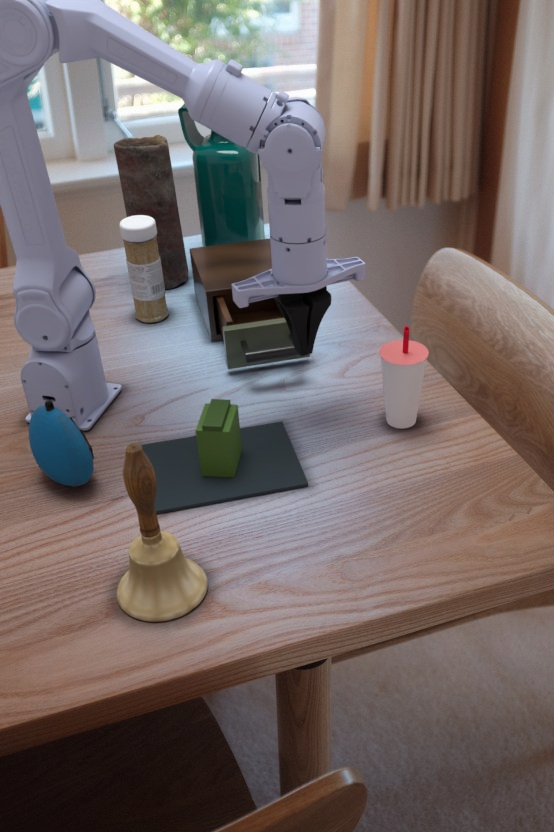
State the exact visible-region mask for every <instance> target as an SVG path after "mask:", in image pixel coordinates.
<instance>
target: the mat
mask: <svg viewBox="0 0 554 832" xmlns="http://www.w3.org/2000/svg"><path fill="white" fill-rule="evenodd" d="M240 433H241V443H242V452H241V456H240V459H239V463H238V466H237V469H236V473H235V476H234V478H231V477H209V476H202V474H201V467H200V460H199V453H198V445H197V438H196V435H193V436H187V437H181V438H175V439H169V440H163V441H157V442H150V443H145V444H140V445H141V446H142V449H143V451H144V453H145V454H146V456H147V457H148V459H149V461H150V462H151V464H152V466H153V469H154V472H155V477H156V485H157V491H156V499H155V511H156V515H159V514H166V513H170V512H177V511H180V510H181V511H182V510H187V509H191V508H198V507H203V506H209V505H213V504H219V503H225V502H230V501H231V502H232V501H235V500H241V499H246V498H252V497H257V496H262V495H268V494H275V493H280V492H284V491H290V490H295V489H301V488H307V487H309V482H308V479H307V477H306V474H305V472H304V469H303V466H302V465H301V463H300V460H299V458H298V455H297V453H296V451H295V448H294V446H293V444H292V441H291V439H290V436H289V433H288V431H287V429H286V427H285V424H284V422H283V421H276V422H271V423H264V424H258V425H252V426H245V427H240Z"/></svg>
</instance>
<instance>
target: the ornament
mask: <svg viewBox="0 0 554 832" xmlns="http://www.w3.org/2000/svg"><path fill="white" fill-rule="evenodd" d="M28 439H29V446H30V450H31V453H32V456H33V458H34V461H35V462H36V464H37V465H38V467H39V468H40V470H41V471H42V472H43V473H44V474H45V475H46V476H48V477H49V478H50V479H51V480H53V481H54V482H55V483H57V484H60V485H63V486H68V487H80V486H83V485H86V484H87V483H89V481H91V478H92V476H93V474H94V470H95V468H94V460H95V453H94V451H93V445H91V443H90V441H89V440H88V438H87V437H86V434H85V433H84V430H82V429H79V428H78V426H77V425H76V424H75V422H74V421H73V419H72V417H68V416H67V415H65V414H64V413H63V412H62V411H60V410H59V409H57V408H55V407H54V404H53V402H52V401H50V400H48V401H46V402H45V406H40V407H38V408H37V409H36V410H35V411H34V412H33V414H32V416H31V419H30V423H29V424H28Z"/></svg>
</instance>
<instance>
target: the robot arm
mask: <svg viewBox="0 0 554 832" xmlns="http://www.w3.org/2000/svg"><path fill="white" fill-rule="evenodd" d="M56 53H59V54H58V55H59V56H58V58H59V59H58V60H59V61H58V62H59V64H67V63H68V64H69V63H75V62H80V61H81V62H82V61H86V60H94V59H101V60H104V61H105V62H108V63H110V64H112V65H114V66H116V67H118V68H120V69H122V70H124V71H126V72H128V73H130V74H132V75H134V76H136V77H138V78H140V79H142V80H145V81H146V82H148V83H150V84H152V85H154V86H156V87H157V88H161V89H162V90H164V91H166V92H169V93H170V94H172V95H174V96H176V97H179V98H180V99H182V101H183V104H184V103H185V105H186V108H187V110H188V112H189V115H190V117H191V119H192V120H194V122H195V123H198V124H200V125H201V126H203V127H205V128H206V129H209V130H210V131H211V130H212V131H214V132H216V133H218V134H219V135H221V136H223V137H225V138H226V139H228V140H230V141H232V142H234V143H235V144H237V145H239V146H241V147H243V148H244V149H246V147H247V145H248V143H249V141H250V143H249V145H248V147H247V150H248V151H250V152H252V153H257V154H259V158H260V164H261V165H262V167H263V168H264V170H265V171H266V172H267V185H268V187H267V190H266V195H267V209H268V210H267V212H268V225H269V239H270V244H271V258H272V269H270V270H267V271H265V272H263V273H260V274H258V275H256V276H253V277H251V278H249V279H246V280H244V281H240V282H237V283H233V284H232V294H233V301H234V302H235V304H236V305H237V306H238V307H239V308H243V307H247V306H249V303H251V302H256V301H260V300H265V299H269V298H274V300H275V301H276V303H277V305H278V307H279V308H280V310H281V312H282V314H283V316H284V318H285V320H286V323H287V325H288V328H289V330H290V333H291V337H292V340H293V344H294V349H295V350H296V351H297V352H298V353H299V354H300V355H301V356H304V355H308V354H310V355H312V354H313V352H314V346H315V342H316V338H317V334H318V332H319V329H320V325H321V323H322V321H323V318H324V316H325V315H326V313H327V312H328V309H329V308H330V306H331V305H332V294H331V293H330V292H329V290H327V289H328V287H327V286H331V285H336V284H340V283H344V282H348V281H352V280H354V281H356V282H361V281H362V282H363V281H366V277H367V276H366V275H367V269H366V268H367V263H366V262H365V261H364V260H362V259H361V258H360V257H359V256H353V257H346V258H331V259H327V257H328V255H327V216H326V215H327V213H326V212H327V210H326V187H325V186H326V185H325V184H324V178H325V171H324V167H323V149H324V146H325V143H326V136H327V128H326V122H325V120H324V118H323V115H322V114H321V112H320V111H319V110H318V108H316V107H315V106H314V105H313V104H311V103H310V102H309V100H308V99H307V98H303V97H297V96H295V97H290V95H289V94H288V93H286V92H285V91H283V90H281V89H279V91H278V93H276V92H275V91H273V90H272V89H270V88H268V87H267V86H265V85H263V84H261V83H259V82H258V81H256V80H254V79H252V78H251V77H249V76H248V75H246V74H244V73H242V71H243V69H244V66H243V65H242V64H241V63H240V62H237V61H236V60H235V59H230V60H229V61H228V63H225V62H224V61H221V60H220V59H218V58H217V59H212V60H209V61H206V62H202V63H198V62H196V61H194V60H193V59H191V58H190V57H188V56H187V55H185V54H183V53H182V52H180V51H179V50H178V49H175V48H174V47H172V45H169V43H166V42H165V41H164V40H162V39H161V38H159V37H158V36H156V35H154V34H153V33H151V32H149V31H147V30H146V29H145V28H143V27H141V26H140V25H138V24H137V23H135V22H134V21H132V20H131V19H130V18H128V17H126V16H124V15H123V14H122V13H120V12H118V11H117V10H115V9H114V8H112V7H110V6H108V4H106V3H105V2H103V1H102V0H0V208H1V212H2V215H3V218H4V223H5V225H6V228H7V231H8V232H7V233H8V235H9V239H10V241H11V245H12V248H13V251H14V254H15V258H16V263H15V270H14V276H13V282H12V293H13V296H14V299H15V309H14V312H13V325H14V327H15V330H16V331H17V333H18V335H19V336H20V337H21V339H22V340H24V342H26V344H28V345H29V347H30V349H29V353H28V354H29V355H28V357H27V360H26V362H25V363H24V365H23V366H22V368H21V371H20V381H21V384H22V389H23V392H24V396H25V400H26V403H27V406H28V410H29V413H28V414H27V415H26V417H24V418H25V422H26V423H29V424H30V419H31V416H32V414H33V412H34V411H35V410H36V409H37V408H38V407H40V406H45V402H46V401H48V400H50V401H52V402H53V404H54V407H55V408H57V409H59V410H60V411H62V412H63V413H64V414H65V415H67V416H68V417H72V419H73V421H74V422H75V424H76V425H77V426H78V428H79V429H82V430H83V431H89V430H91V428H92V427H93V426H94V424H95V423H96V422H97V421H98V419H99V418H101V416H102V414H103V413H104V412H105V411H106V410H107V408H108V407H109V406H110V405H111V403H112V402H113V401H114V399H115V398H116V397H117V396H118V395H119V393H120V392H121V391H122V390H123V387H122V385H121V384H119V383H112V382H107V380H106V376H105V370H104V366H103V361H102V356H101V352H100V347H99V342H98V337H97V331H96V326H95V324H94V321H93V320H92V316H91V312H90V310H91V308H92V307H93V305H94V303H95V301H96V297H97V291H96V286H95V284H94V281H93V279H92V278H91V277H90V276H89V274H88V273H87V271H86V270H85V268H83V265H82V262H81V260H80V256H79V253H78V252H77V251H76V250H74V249H73V248H71V247H70V246H69V245H67V240H66V236H65V233H64V230H63V229H64V228H63V225H62V222H61V221H62V220H61V218H60V215H59V210H58V206H57V203H56V202H57V201H56V198H55V195H54V191H53V188H52V183H51V179H50V176H49V172H48V168H47V163H46V160H45V157H44V151H43V149H42V145H41V141H40V138H39V137H40V136H39V134H38V133H39V132H38V129H37V126H36V122H35V118H34V114H33V111H32V107H31V104H30V103H31V102H30V99H29V95H28V88H29V87H30V85H31V83H32V82H33V81H34V79H35V78H36V77H37V75H38V74H39V73H40V71H41V70H42V68H43V67H44V65H45V63H46V62H47V61H48V60H49V59H50V58H51V57H52V56H53V55H55V54H56ZM250 138H251V140H250Z"/></svg>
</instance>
